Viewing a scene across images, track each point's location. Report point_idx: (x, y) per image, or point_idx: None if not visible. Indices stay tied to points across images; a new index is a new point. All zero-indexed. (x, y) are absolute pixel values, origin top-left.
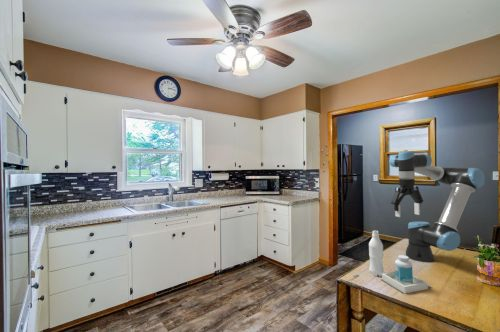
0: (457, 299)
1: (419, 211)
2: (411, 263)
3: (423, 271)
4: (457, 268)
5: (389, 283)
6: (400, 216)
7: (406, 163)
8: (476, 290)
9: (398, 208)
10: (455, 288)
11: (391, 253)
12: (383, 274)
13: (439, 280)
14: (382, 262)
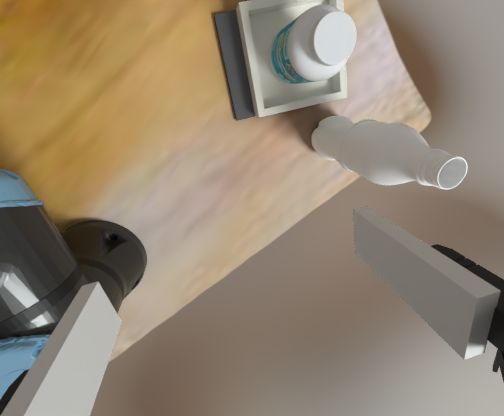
0: None
1: (67, 316)
2: (301, 20)
3: (159, 150)
4: (9, 166)
5: None
6: (358, 211)
7: None
8: None
9: (449, 268)
10: (125, 11)
11: (184, 284)
12: (345, 90)
13: (145, 79)
14: (336, 130)
